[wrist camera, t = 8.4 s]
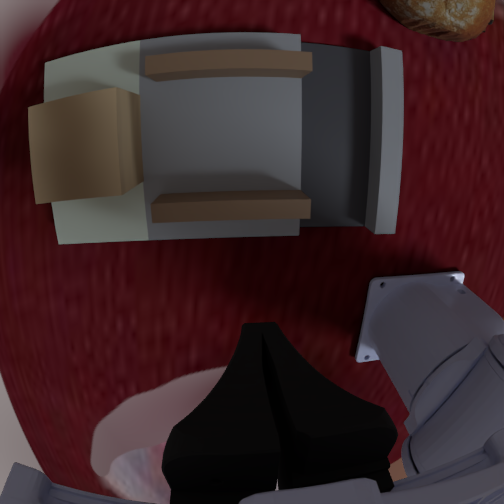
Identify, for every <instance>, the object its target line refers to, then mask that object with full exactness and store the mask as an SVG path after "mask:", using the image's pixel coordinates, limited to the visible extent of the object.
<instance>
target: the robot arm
mask: <svg viewBox="0 0 504 504" xmlns="http://www.w3.org/2000/svg"><path fill="white" fill-rule="evenodd" d="M451 277H452V278H451ZM450 278H451V279H450ZM463 280H464V273H462V272H461V271H455V272H444V273H431V274H419V275H405V276H391V277H376V278H373V279H372V280H371V281H370V283H369V289H368V295H367V301H366V306H365V312H364V317H363V322H362V327H361V332H360V337H359V341H358V346H357V351H356V355H355V359H356V361H357V362H366V361H372V360H379V359H380V361H381V363H382V364H383V366H384V368H385V370H386V371H387V373H388V375H389V377H390V378H391V380H392V382H393V384H394V386H395V387H396V389H397V391H398V393H399V395H400V396H401V398H402V400H403V402H404V404H405V405H406V407H407V409H408V411H409V413H410V415H409V417H408V418H407V419H406V421H405V422H404V424H405V426H406V428H407V430H408V432H409V434H410V435H409V436H408V437H407V438H406V440H405V441H404V443H403V445H402V461H403V465H404V469H405V472H406V475H407V476H408V477H407V478H404V479H401V480H398V481H395V482H393V481H392V478H391V476H390V473H389V471H388V469H389V468H390V463H389V460H388V458H387V456H388V455H389V453H390V451H391V449H392V448H393V446H394V444H395V442H396V440H397V437H398V432H397V429H396V427H395V425H394V423H393V421H392V419H391V418H390V416H389V415H388V413H387V412H386V410H385V408H383V407H380V406H378V405H375V404H372V403H370V402H367V401H365V400H363V399H360V398H358V397H356V396H354V395H352V394H350V393H349V392H347V391H345V390H343V389H342V388H340V387H339V386H337V385H335V384H334V383H332V382H331V381H329V380H328V379H327V378H325V377H324V376H323V375H322V374H320V373H319V372H318V371H317V370H316V369H314V368H313V367H312V366H311V365H310V364H309V363H308V362H307V361H306V360H305V359H304V358H303V357H302V356H301V355H300V354H299V353H298V351H297V350H296V349H295V348H294V347H293V346H292V344H291V343H290V342H289V341H288V339H287V338H286V337H285V335H284V334H283V332H282V331H281V330H280V328H279V326H278V325H277V324H276V323H275V322H264V323H244V324H243V325H242V330H241V335H240V339H239V342H238V345H237V347H236V350H235V352H234V355H233V357H232V359H231V361H230V363H229V365H228V366H227V368H226V370H225V372H224V373H223V375H222V377H221V378H220V380H219V381H218V383H217V384H216V385H215V387H214V388H213V389H212V391H211V392H210V393H209V394H208V395H207V397H206V398H205V399H204V400H203V401H202V402H201V403H200V404H199V405H198V406H197V407H196V408H195V409H194V410H193V411H192V412H191V413H190V414H189V415H188V416H186V417H185V418H184V419H183V420H181V421H180V422H179V423H178V424H176V425H175V426H174V427H173V429H172V431H171V433H170V435H169V438H168V440H167V443H166V446H165V449H164V453H163V460H162V472H163V474H164V476H165V478H166V480H167V482H168V484H169V486H170V488H171V496H170V504H504V321H503V319H502V318H501V317H500V316H499V315H498V314H497V313H496V312H495V311H494V310H493V309H492V308H491V307H489V306H488V305H487V304H486V303H485V302H484V301H482V300H481V299H480V298H479V297H478V296H477V295H475V294H474V293H473V292H472V291H471V290H469V289H468V288H467V287H466V286H464V285H463ZM382 282H384V283H383V285H382V286H380V284H381V283H382ZM367 355H368V356H367ZM365 356H366V357H365ZM277 479H278V489H279V490H277V491H275V489H276V484H277ZM0 504H155V503H146V502H139V501H132V500H125V499H119V498H114V497H108V496H103V495H98V494H94V493H89V492H85V491H81V490H77V489H73V488H69V487H65V486H62V485H58V484H55V483H52V482H51V481H50V479H49V478H48V477H47V476H46V475H45V474H44V473H42V472H41V471H39V470H36V469H34V468H31V467H28V466H25V465H22V464H20V463H17V462H15V463H14V464H13V466H12V469H11V471H10V474H9V476H8V478H7V481H6V483H5V486H4V489H3V491H2V494H1V496H0Z"/></svg>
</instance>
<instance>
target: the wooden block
mask: <svg viewBox="0 0 504 504" xmlns="http://www.w3.org/2000/svg"><path fill="white" fill-rule="evenodd" d="M28 123H29V144H30V158H31V169H32V178H33V186H34V194H35V201H36V204H41V203H49V202H58V201H67V200H76V199H86V198H97V197H108V196H120V195H123V194H125V193H126V192H128V191H129V190H131V189H132V188H134V187H135V186H137V185H139V184H140V183H142V182H143V181H144V176H143V160H142V141H141V110H140V95H138V94H135V93H133V92H130V91H127V90H124V89H121V88H118V87H114V88H108V89H103V90H97V91H92V92H87V93H82V94H78V95H73V96H69V97H65V98H61V99H57V100H53V101H49V102H45V103H42V104H38V105H34V106H31V107H28Z"/></svg>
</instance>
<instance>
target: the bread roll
mask: <svg viewBox="0 0 504 504" xmlns="http://www.w3.org/2000/svg"><path fill="white" fill-rule="evenodd" d="M379 1H380V2H381V4H382V5H383V6H384V7H385V9H386V10H387V11H388V12H389V13H390V14H391V15H392V16H394V17H395V18H396V19H397V20H398V21H399V22H400V23H402V24H403V25H404V26H406V27H407V28H409V29H411V30H413V31H417V32H419V33H421V34H426V35H428V36H431V37H435V38H438V39H442V40H446V41H455V42H463V41H466V40H471V39H473V38H476V37H477V36H479V35H480V34H481V33H482V32H485V29H486V26H487V25H488V24H489V25H490V24H492V22H493V21H494V7H495V0H379Z"/></svg>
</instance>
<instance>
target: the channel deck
mask: <svg viewBox="0 0 504 504" xmlns="http://www.w3.org/2000/svg"><path fill="white" fill-rule="evenodd" d="M114 87H118V88H121V89H124V90H127V91H130V92H133V93H135V94H138V95H140V110H141V141H142V160H143V176H144V181H143V182H142V183H140V184H139V185H137V186H135V187H134V188H132V189H131V190H129V191H128V192H126V193H125V194H123V195H120V196H108V197H97V198H86V199H76V200H67V201H58V202H51V203H52V209H53V216H54V222H55V228H56V233H57V238H58V243H59V244H74V243H95V242H117V241H141V240H166V239H194V238H225V237H259V236H298V235H299V227H328V226H365V227H367V228H368V229H369V230H370V231H372V232H373V233H374V234H395V227H396V219H397V211H398V201H399V191H400V179H401V165H402V148H403V112H404V97H403V62H402V51H400V50H396V49H392V48H387V47H382V46H380V47H378V48H376V49H374V50H372V51H365V50H359V49H353V48H346V47H339V46H331V45H322V44H313V43H301V35H299V34H284V33H258V32H230V33H205V34H190V35H179V36H169V37H161V38H153V39H146V40H139V41H133V42H128V43H122V44H117V45H112V46H107V47H102V48H98V49H93V50H89V51H85V52H81V53H77V54H73V55H70V56H66V57H63V58H59V59H56V60H52V61H49V62H46V63H45V75H44V103H45V102H49V101H53V100H57V99H61V98H65V97H69V96H73V95H78V94H82V93H87V92H92V91H97V90H103V89H108V88H114Z"/></svg>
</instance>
